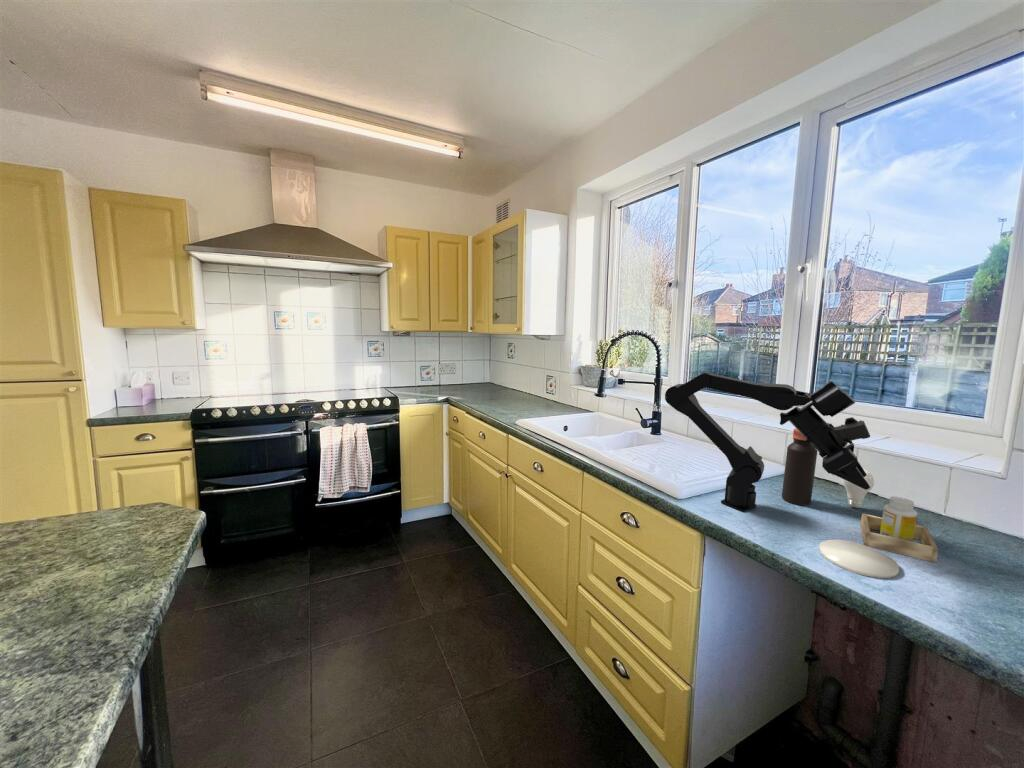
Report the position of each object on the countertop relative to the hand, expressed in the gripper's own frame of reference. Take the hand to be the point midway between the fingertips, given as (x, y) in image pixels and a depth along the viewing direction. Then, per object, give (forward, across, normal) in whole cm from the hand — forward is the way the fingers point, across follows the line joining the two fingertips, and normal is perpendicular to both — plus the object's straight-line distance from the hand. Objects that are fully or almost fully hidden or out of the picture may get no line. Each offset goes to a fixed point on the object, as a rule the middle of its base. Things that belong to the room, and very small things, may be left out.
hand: (866, 482), depth 98 cm
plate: (+8, -14, +10) cm, 19 cm away
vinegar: (0, +13, +18) cm, 23 cm away
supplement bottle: (+14, 0, +5) cm, 14 cm away
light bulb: (+9, +17, +9) cm, 22 cm away
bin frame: (+14, 0, +4) cm, 14 cm away
